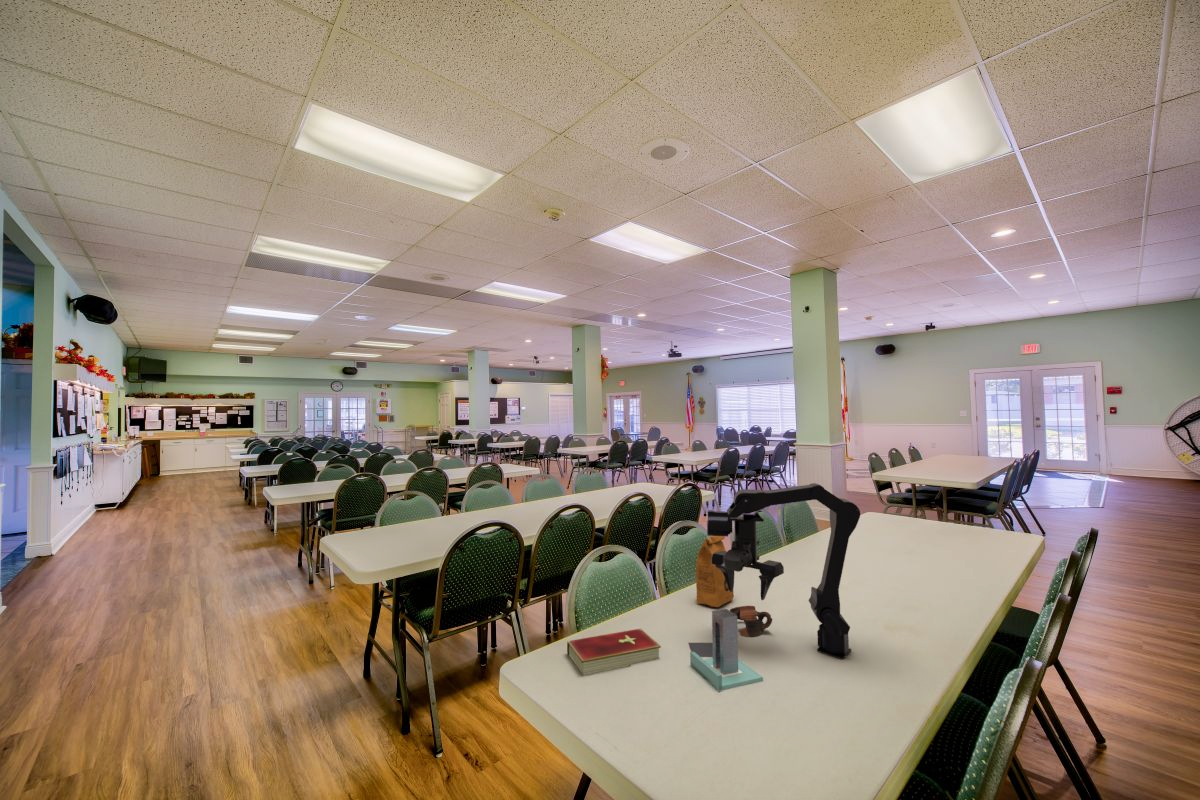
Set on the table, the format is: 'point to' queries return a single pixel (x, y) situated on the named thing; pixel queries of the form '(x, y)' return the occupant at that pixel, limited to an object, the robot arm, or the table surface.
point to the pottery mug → (752, 620)
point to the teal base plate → (720, 680)
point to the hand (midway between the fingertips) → (746, 595)
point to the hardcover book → (612, 651)
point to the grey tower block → (725, 641)
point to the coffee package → (711, 575)
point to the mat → (702, 649)
